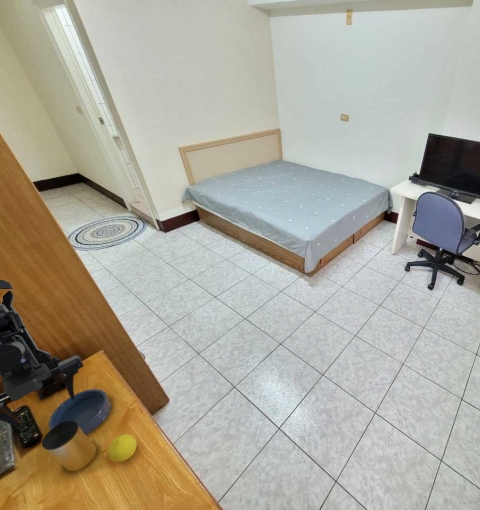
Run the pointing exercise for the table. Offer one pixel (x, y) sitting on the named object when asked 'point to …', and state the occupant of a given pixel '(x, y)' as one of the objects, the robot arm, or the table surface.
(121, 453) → the lemon
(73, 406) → the dish
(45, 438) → the tin
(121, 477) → the table surface
